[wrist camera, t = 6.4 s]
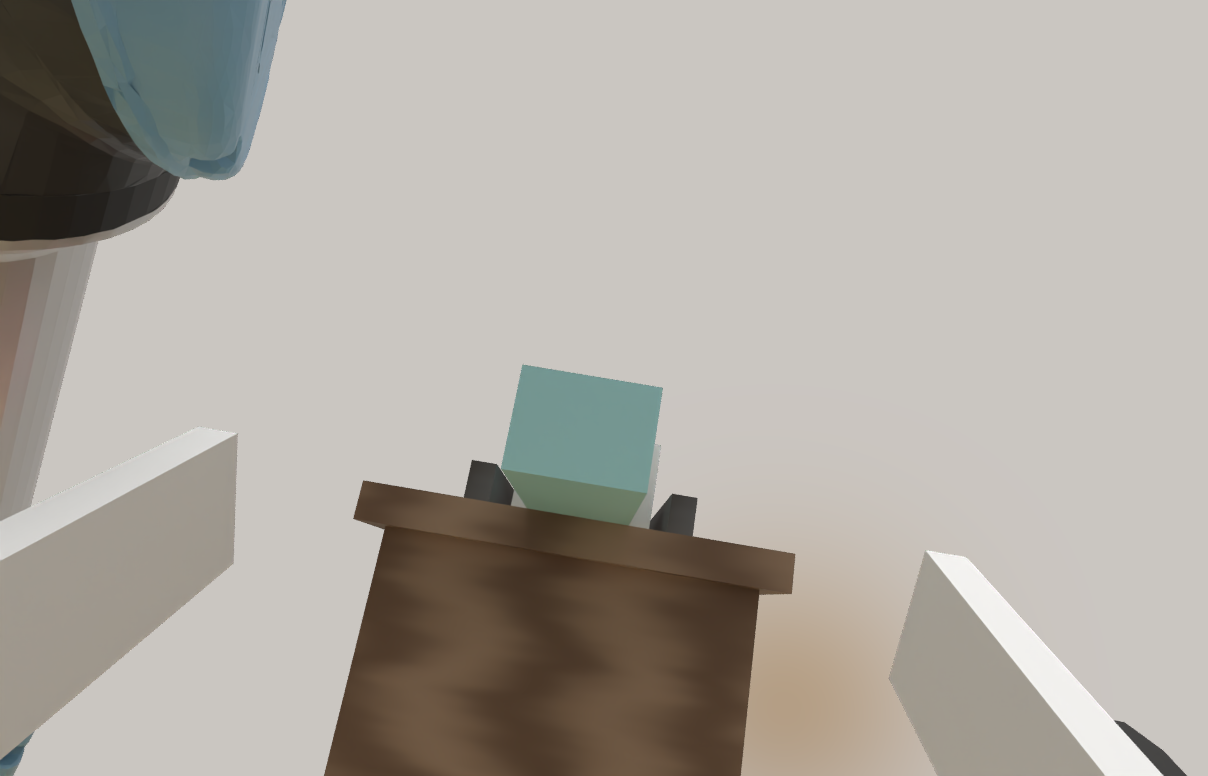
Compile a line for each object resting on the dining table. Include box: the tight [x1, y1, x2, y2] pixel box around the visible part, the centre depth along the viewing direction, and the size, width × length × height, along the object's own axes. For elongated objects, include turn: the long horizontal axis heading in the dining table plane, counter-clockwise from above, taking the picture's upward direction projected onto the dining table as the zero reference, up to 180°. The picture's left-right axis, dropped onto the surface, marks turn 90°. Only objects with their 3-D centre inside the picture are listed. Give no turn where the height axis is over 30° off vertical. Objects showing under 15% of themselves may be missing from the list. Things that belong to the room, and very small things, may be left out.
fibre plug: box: [501, 365, 663, 529], centre depth 31 cm, size 6×23×4 cm, turn 1°
